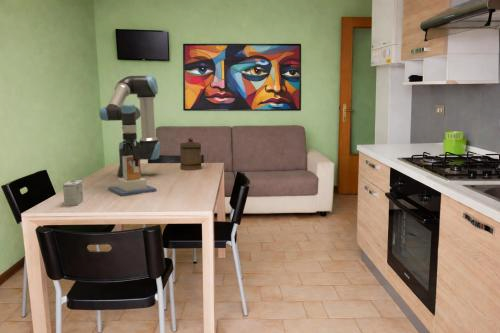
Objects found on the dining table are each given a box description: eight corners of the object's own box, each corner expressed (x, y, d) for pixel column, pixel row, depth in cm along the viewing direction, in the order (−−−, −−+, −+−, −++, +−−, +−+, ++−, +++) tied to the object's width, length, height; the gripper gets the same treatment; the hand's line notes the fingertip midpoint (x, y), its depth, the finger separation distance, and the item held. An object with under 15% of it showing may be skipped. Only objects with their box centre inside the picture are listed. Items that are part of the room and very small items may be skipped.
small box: (127, 180, 261) (126, 157, 259) (122, 179, 266) (121, 156, 264) (141, 179, 265) (140, 156, 263) (136, 177, 270) (135, 154, 268)
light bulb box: (70, 200, 243) (68, 180, 241) (83, 200, 244) (82, 179, 242) (63, 205, 232) (62, 184, 231) (78, 205, 233) (76, 183, 231)
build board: (108, 190, 269) (107, 178, 268) (141, 185, 280) (141, 174, 279) (122, 196, 253) (121, 184, 252) (156, 191, 265) (156, 179, 264)
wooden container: (205, 167, 343) (205, 137, 339) (192, 170, 331) (191, 139, 327) (189, 166, 351) (188, 136, 347) (176, 169, 339) (175, 138, 335)
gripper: (114, 131, 269) (116, 168, 273) (132, 134, 249) (134, 174, 253) (127, 130, 273) (128, 166, 277) (145, 133, 254) (147, 172, 257)
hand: (131, 170), depth 265 cm, fingers open, 13 cm apart
